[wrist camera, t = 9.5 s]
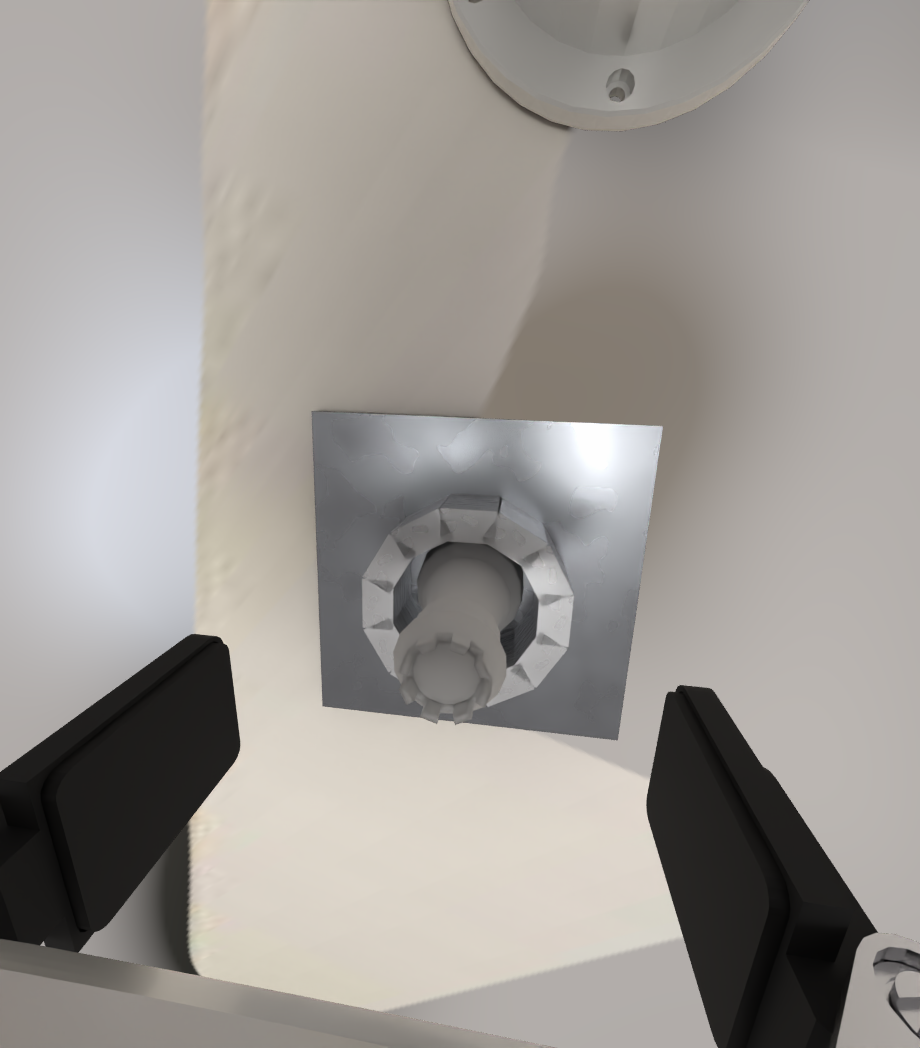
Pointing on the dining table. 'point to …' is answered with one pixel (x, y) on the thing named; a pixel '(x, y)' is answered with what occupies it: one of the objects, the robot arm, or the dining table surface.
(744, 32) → the robot arm
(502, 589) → the rook chess piece
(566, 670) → the socket
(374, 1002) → the dining table surface
